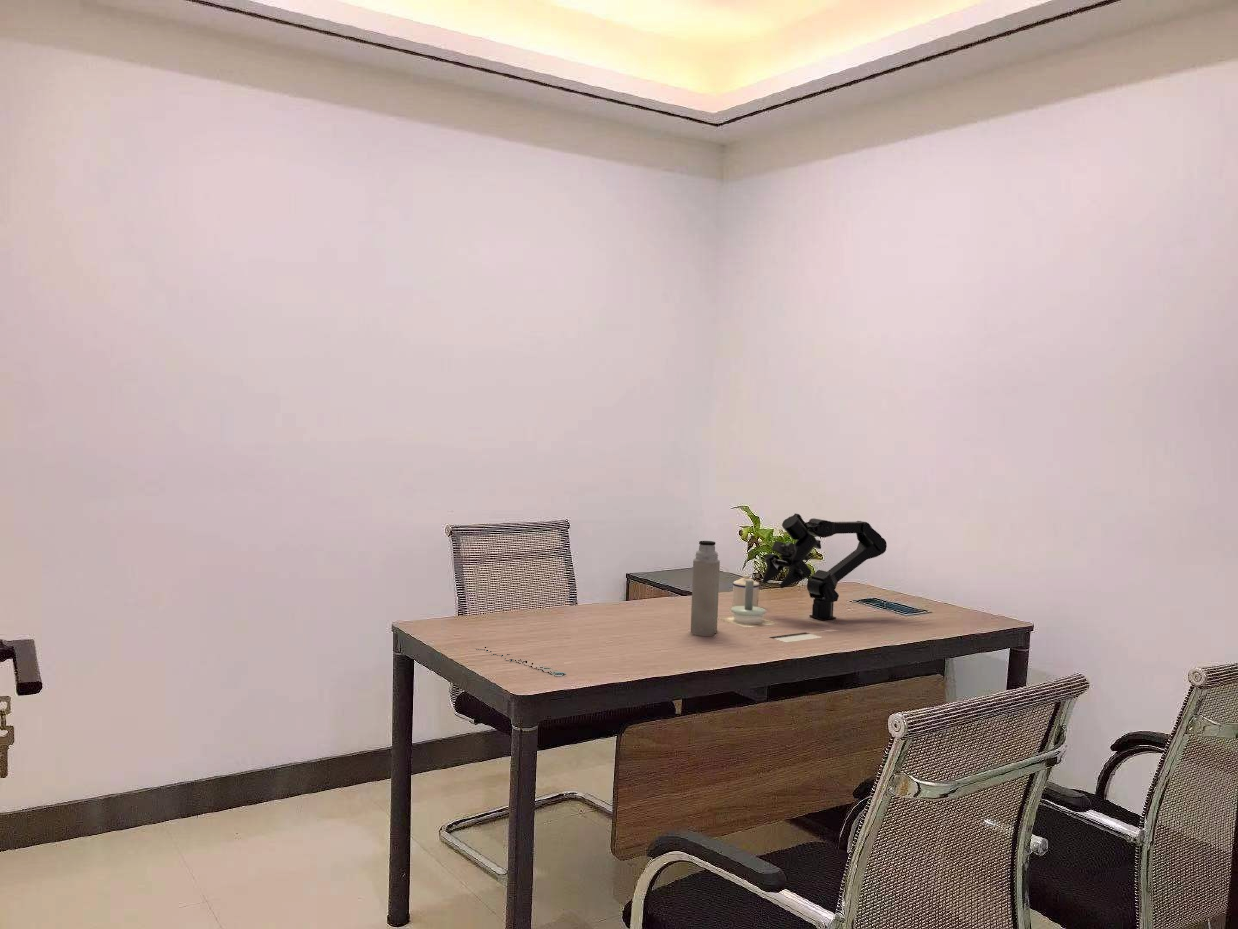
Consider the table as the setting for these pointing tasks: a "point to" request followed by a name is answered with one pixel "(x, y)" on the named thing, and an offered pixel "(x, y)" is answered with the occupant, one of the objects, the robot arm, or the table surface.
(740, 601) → the teacup with lid
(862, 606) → the table surface
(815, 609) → the robot arm
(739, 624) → the board
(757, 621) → the bowl
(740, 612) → the lid
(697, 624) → the thermos bottle
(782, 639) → the mat
